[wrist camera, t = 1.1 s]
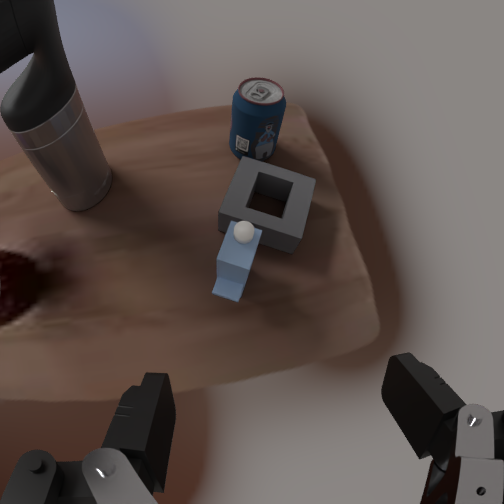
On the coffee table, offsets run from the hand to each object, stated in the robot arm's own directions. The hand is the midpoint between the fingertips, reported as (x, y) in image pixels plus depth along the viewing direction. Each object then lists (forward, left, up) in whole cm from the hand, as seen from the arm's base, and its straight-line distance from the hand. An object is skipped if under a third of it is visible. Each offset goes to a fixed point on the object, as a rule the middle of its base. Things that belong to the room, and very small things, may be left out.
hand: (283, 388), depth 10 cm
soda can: (-8, +31, -25) cm, 41 cm away
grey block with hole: (-3, +21, -25) cm, 32 cm away
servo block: (-4, +11, -25) cm, 27 cm away
